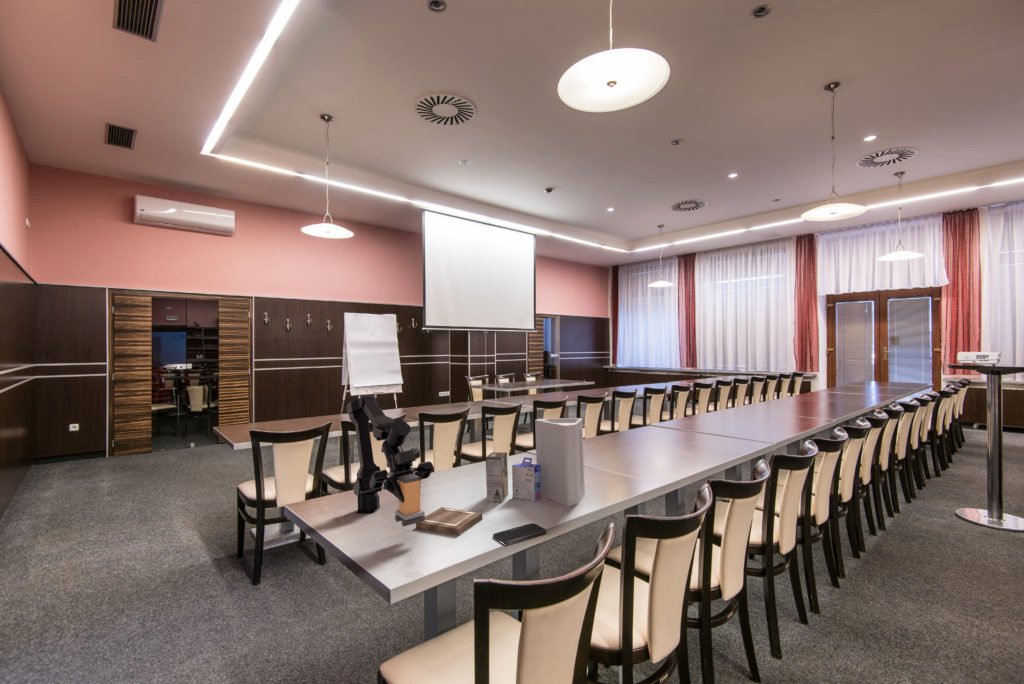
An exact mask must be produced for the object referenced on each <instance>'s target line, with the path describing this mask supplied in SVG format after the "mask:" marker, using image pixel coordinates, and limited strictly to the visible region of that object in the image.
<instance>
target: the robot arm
mask: <svg viewBox="0 0 1024 684" xmlns="http://www.w3.org/2000/svg"><path fill="white" fill-rule="evenodd" d="M376 399H377V398H376V397H375V396H373V395H368V396H367V395H366V396H361V397H359V398H358V399H354V400H350V401H349V403H347V405H346V412H347V414H348V417H349V418H348V419H349V420H350V421H351V423H352V424H353V425H354V426H355V428H354V429H355V434H356V435H355V436H356V443H357V451H358V458H359V468H358V470H357V473H356V479H355V482H354V485H353V488H352V491H353V494H354V495H355V496H357V510H356V511H355V513H356V514H373V513H375V512H376V511H377V510H379V509H380V508H381V504H380V502H381V501H380V495H379V492H382V490H384V491H385V490H386V491H388V492H389V493H390V494H392V495H393V496H395V498H397V499H398V501H399V500H400V501H401V502H402V503H403V502H404V497H403V494H402V491H401V489H400V487H399V484H398V477H399V476H404V475H409V474H414V475H417V476H419V477H420V482H421V481H422V480H425V479H428V478H429V477H430V476H431V474H432V472H433V470H434V469H435V467H434V466H435V465H434V464H433V463H432V462H431V461H424V462H419V463H418V465H417V467H415V468H412V467H413V465H414V463H413V462H417V460H418V459H419V458H420V457H421V451H420V449H419V447H416V446H415V447H412V448H411V449H410V450H404V448H403V445H405V443H406V440H407V439H408V436H409V434H410V433H411V428H412V427H411V425H410V424H409V423H407V422H406V421H404V420H402V419H401V417H399V418H393V417H389V416H387V415H386V414H385V413H384V411H383V409H382V408H381V407H380V405H379V404H378V402H377V400H376ZM369 423H371V424H372V426H373V427H372V435H373V437H374V438H375V440H376V441H377V442H380V441H383V442H382V445H381V449H380V451H381V453H383V454H384V456H385V460H386V462H387V463H386V465H385V466H386V467H387V468H389V472H388V470H387V469H383V470H382V469H381V467H380V466H379V465H377V464H376V463H375V460H374V453H373V447H372V446H373V444H372V440H371V439H372V438H371V431H370V425H369Z"/></svg>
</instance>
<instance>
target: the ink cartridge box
mask: <svg viewBox="0 0 1024 684" xmlns="http://www.w3.org/2000/svg"><path fill="white" fill-rule="evenodd" d="M526 460H528V461H526ZM532 462H533V458H532V457H525V456H523V460H522V462H517V463H515V464H512V465H511V475H512V476H511V477H512V478H511V479H512V480H511V481H512V484H511V485H512V486H511V487H512V489H511V490H512V498H513V497H514V498H513V499H520V500H526V501H533V502H535V501H537V500H539V499H541V498H542V495H541V465H537V463H536V464H535V463H532Z"/></svg>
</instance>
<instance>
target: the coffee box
mask: <svg viewBox="0 0 1024 684" xmlns="http://www.w3.org/2000/svg"><path fill="white" fill-rule="evenodd" d="M508 471H509V470H508V452H507V451H506V452H505V451H504V452H497V451H496V452H493V451H492V452H490V453H489V454H488V455H487V456H486V457H485V475H486V476H485V477H486V478H485V480H486V481H485V482H486V501H487V502H491V501H499V502H500V501H501V502H500V503H503V502H504V501H505V500H506V498H507V497H508V495H509V476H508V475H509V474H508V473H509V472H508ZM499 502H498V503H499Z"/></svg>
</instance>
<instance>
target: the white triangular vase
mask: <svg viewBox="0 0 1024 684" xmlns="http://www.w3.org/2000/svg"><path fill="white" fill-rule="evenodd" d="M534 422H535V425H534V427H535V429H534V430H535V451H536V452H535V453H536V454H535V455H536V457H535V458H536V464H537V465H541V496H543V497H545V496H546V497H545V498H547V497H548V498H547V499H549V498H550V499H549V500H552V501H554V502H556V501H557V503H559V504H562V505H564V506H566V507H572V506H576V505H579V503H580V502H581V500H582V498H583V497H584V496H585V492H586V490H585V487H586V485H585V467H584V466H585V464H584V463H585V462H584V461H585V460H584V437H583V436H584V433H583V431H584V429H583V419H582V418H579V417H569V418H568V417H561V418H559V417H558V418H552V417H551V418H538V419H535V421H534Z"/></svg>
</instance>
